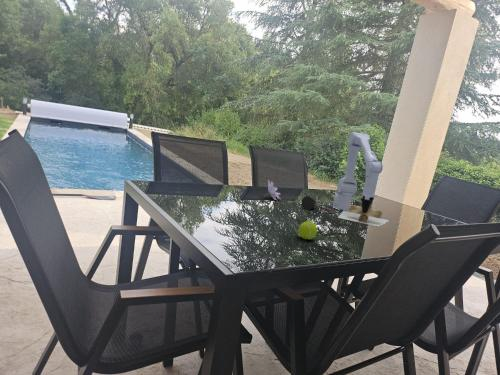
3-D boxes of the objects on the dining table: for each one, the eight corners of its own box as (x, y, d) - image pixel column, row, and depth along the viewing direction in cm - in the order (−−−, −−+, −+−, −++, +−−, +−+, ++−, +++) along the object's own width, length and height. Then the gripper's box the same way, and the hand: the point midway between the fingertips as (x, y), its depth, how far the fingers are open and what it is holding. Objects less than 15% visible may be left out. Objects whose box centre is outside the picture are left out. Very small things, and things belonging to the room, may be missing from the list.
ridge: (358, 220, 191) (359, 215, 191) (359, 217, 199) (361, 212, 198) (366, 222, 190) (367, 216, 189) (367, 219, 197) (368, 214, 197)
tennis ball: (303, 235, 153) (306, 218, 152) (318, 240, 149) (321, 223, 148) (294, 237, 148) (297, 220, 146) (309, 243, 143) (312, 225, 142)
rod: (348, 211, 195) (349, 205, 194) (349, 210, 198) (350, 204, 197) (380, 218, 190) (382, 212, 189) (381, 217, 193) (382, 211, 192)
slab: (337, 218, 192) (337, 217, 192) (343, 211, 212) (343, 210, 212) (387, 229, 184) (387, 228, 184) (388, 221, 204) (388, 220, 204)
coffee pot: (298, 207, 204) (303, 207, 212) (330, 219, 197) (333, 219, 205) (303, 193, 204) (308, 194, 212) (335, 205, 196) (338, 206, 204)
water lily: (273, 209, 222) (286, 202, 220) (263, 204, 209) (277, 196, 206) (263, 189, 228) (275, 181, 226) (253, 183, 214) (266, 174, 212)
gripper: (377, 188, 183) (372, 215, 186) (379, 185, 197) (373, 210, 199) (362, 185, 186) (357, 212, 188) (365, 182, 199) (360, 208, 201)
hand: (364, 211), depth 194 cm, fingers open, 7 cm apart
